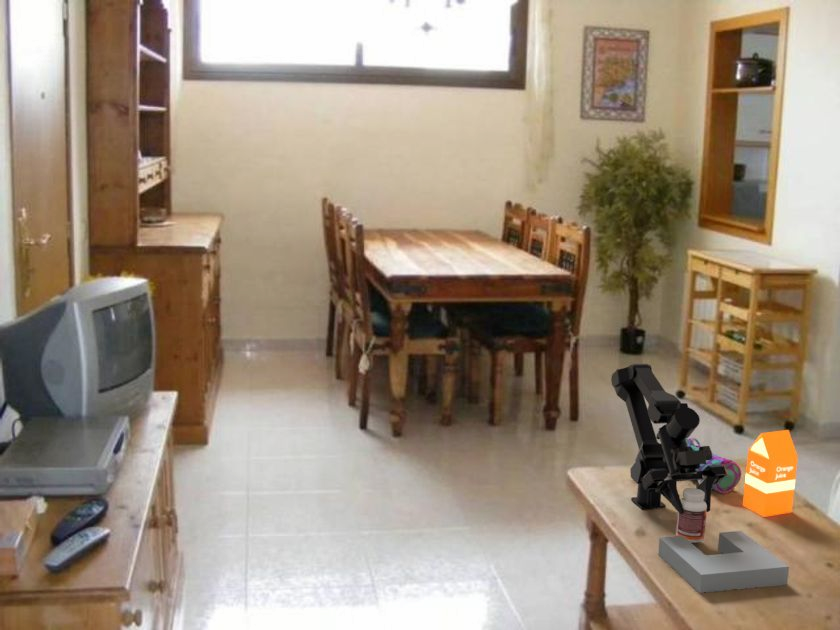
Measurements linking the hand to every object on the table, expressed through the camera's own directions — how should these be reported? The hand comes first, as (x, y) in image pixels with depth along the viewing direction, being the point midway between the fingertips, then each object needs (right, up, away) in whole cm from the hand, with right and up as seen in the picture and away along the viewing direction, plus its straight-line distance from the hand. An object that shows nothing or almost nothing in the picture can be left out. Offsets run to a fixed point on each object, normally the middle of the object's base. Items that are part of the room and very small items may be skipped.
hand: (695, 512), depth 220 cm
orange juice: (+24, -4, +24) cm, 34 cm away
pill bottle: (0, -6, +3) cm, 7 cm away
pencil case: (+14, 0, +41) cm, 44 cm away
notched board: (+3, -10, -10) cm, 14 cm away
